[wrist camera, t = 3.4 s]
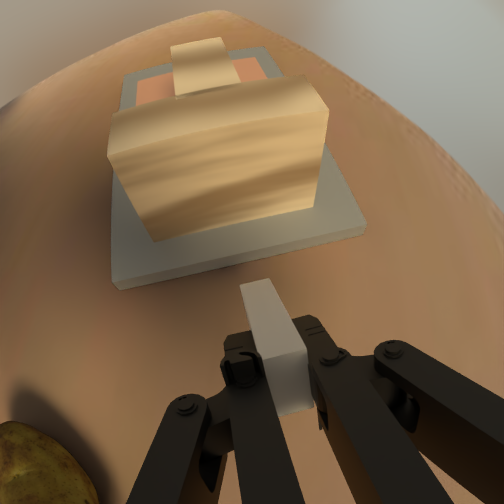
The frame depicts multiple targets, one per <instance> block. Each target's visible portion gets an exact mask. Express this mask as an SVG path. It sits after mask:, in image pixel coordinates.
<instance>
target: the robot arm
mask: <svg viewBox="0 0 504 504" xmlns="http://www.w3.org/2000/svg"><path fill="white" fill-rule="evenodd" d="M240 289H241V294H242V298H243V303H244V307H245V311H246V316H247V320H248V324H249V329H250V330H249V331H245V332H241V333H236V334H232V335H228V336H227V338H226V340H225V341H224V350H225V357H224V358H223V359H222V361H221V363H220V368H221V371H222V374H223V378H224V381H225V384H226V387H225V388H224V389H223V390H222V391H221V392H220V393H218V394H217V395H215V396H213V397H210V398H208V399H206V400H205V398H204V397H202V396H200V395H197V394H187V395H183V396H180V397H178V398H176V399H175V400H173V401H172V402H171V403H170V405H169V406H168V407H167V410H166V412H165V414H164V417H163V419H162V421H161V423H160V426H159V428H158V430H157V433H156V435H155V437H154V439H153V442H152V444H151V446H150V449H149V451H148V453H147V456H146V458H145V460H144V463H143V465H142V467H141V470H140V472H139V474H138V477H137V479H136V481H135V484H134V486H133V488H132V491H131V493H130V495H129V498H128V500H127V502H126V504H218V500H219V495H220V490H221V485H222V481H223V476H224V471H225V466H226V461H227V457H228V456H227V453H228V452H230V451H233V450H234V452H235V459H236V466H237V473H238V480H239V486H240V493H241V499H242V504H305V501H304V498H303V495H302V492H301V489H300V486H299V482H298V479H297V476H296V473H295V470H294V466H293V463H292V460H291V457H290V454H289V450H288V447H287V444H286V441H285V437H284V434H283V431H282V428H281V424H280V421H279V418H278V417H280V416H284V415H288V414H292V413H295V412H299V411H303V410H306V409H310V408H313V407H314V402H313V399H314V401H315V404H316V406H317V413H318V422H319V430H322V427H323V429H324V432H325V434H326V436H327V438H328V441H329V443H330V445H331V448H332V450H333V452H334V454H335V457H336V459H337V461H338V463H339V466H340V468H341V470H342V473H343V475H344V477H345V479H346V482H347V484H348V486H349V488H350V491H351V493H352V495H353V497H354V500H355V502H356V504H454V503H453V501H452V500H451V498H450V497H449V495H448V494H447V492H446V491H445V489H444V488H443V486H442V485H441V483H440V482H439V480H438V479H437V478H436V476H435V475H434V473H433V472H432V470H431V469H430V467H429V466H428V464H427V463H426V461H425V460H424V458H423V457H422V456H421V454H420V453H419V451H420V452H421V453H422V454H423V455H424V456H426V457H427V458H428V459H429V460H431V461H432V462H433V463H434V464H435V465H437V466H438V467H439V468H440V469H442V470H443V471H444V472H445V473H447V474H448V475H449V476H450V477H451V478H453V479H454V480H455V481H456V482H458V483H459V484H460V485H462V486H463V487H464V488H465V489H467V490H468V491H469V492H470V493H472V494H473V495H474V496H476V497H477V498H478V499H479V500H481V501H482V502H483V503H485V504H504V399H503V398H501V397H499V396H498V395H496V394H494V393H493V392H491V391H489V390H487V389H486V388H484V387H482V386H481V385H479V384H477V383H475V382H474V381H472V380H470V379H468V378H467V377H465V376H463V375H462V374H460V373H458V372H456V371H455V370H453V369H451V368H449V367H448V366H446V365H444V364H443V363H441V362H439V361H437V360H436V359H434V358H432V357H430V356H429V355H427V354H425V353H424V352H422V351H420V350H418V349H417V348H415V347H413V346H412V345H410V344H408V343H406V342H403V341H400V340H389V341H385V342H383V343H380V344H379V345H378V346H377V347H376V348H375V350H374V355H368V356H351V354H350V353H349V352H348V351H347V350H345V349H342V348H339V347H337V346H336V344H335V343H334V341H333V340H332V338H331V337H330V335H329V334H328V333H327V331H326V330H325V328H324V327H323V326H322V324H321V322H320V321H319V320H318V319H317V318H315V317H313V316H311V315H306V316H302V317H298V318H294V319H291V318H290V316H289V314H288V312H287V310H286V309H285V307H284V305H283V303H282V301H281V299H280V297H279V295H278V294H277V292H276V290H275V288H274V286H273V284H272V282H271V281H270V279H269V278H267V279H262V280H258V281H254V282H249V283H245V284H241V285H240Z"/></svg>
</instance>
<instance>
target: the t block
mask: <svg viewBox="0 0 504 504" xmlns="http://www.w3.org/2000/svg"><path fill="white" fill-rule="evenodd" d="M171 57H172V68H173V78H174V88H175V96H172V97H168V98H164V99H160V100H156V101H152V102H149V103H145V104H141V105H138V106H134V107H131V108H128V109H124V110H121V111H118V112H115V113H112V119H111V126H110V133H109V141H108V150H107V157H108V159H109V161H110V163H111V165H112V167H113V169H114V171H115V173H116V175H117V177H118V179H119V180H120V182H121V184H122V186H123V188H124V190H125V192H126V194H127V195H128V197H129V199H130V201H131V203H132V205H133V206H134V208H135V210H136V212H137V214H138V216H139V217H140V219H141V221H142V223H143V224H144V226H145V228H146V230H147V232H148V233H149V235H150V237H151V238H152V240H153V242H154V243H155V242H159V241H163V240H167V239H171V238H175V237H180V236H184V235H188V234H192V233H197V232H201V231H205V230H210V229H214V228H218V227H223V226H227V225H232V224H236V223H241V222H245V221H250V220H254V219H259V218H264V217H268V216H273V215H278V214H282V213H287V212H292V211H297V210H301V209H306V208H311V207H313V205H314V199H315V194H316V188H317V183H318V177H319V171H320V165H321V160H322V154H323V148H324V141H325V135H326V129H327V122H328V116H329V109H328V108H327V106H326V105H325V103H324V102H323V100H322V99H321V97H320V96H319V95H318V93H317V92H316V90H315V89H314V88H313V86H312V85H311V83H310V82H309V81H308V79H307V78H306V77H305V75H295V76H286V77H277V78H269V79H261V80H254V81H247V82H241V81H240V79H239V76H238V74H237V72H236V70H235V67H234V65H233V63H232V61H231V59H230V56H229V54H228V52H227V50H226V48H225V46H224V43H223V41H222V39H221V37H217V38H211V39H205V40H200V41H195V42H190V43H185V44H180V45H176V46H172V47H171Z"/></svg>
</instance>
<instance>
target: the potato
mask: <svg viewBox="0 0 504 504" xmlns="http://www.w3.org/2000/svg"><path fill="white" fill-rule="evenodd" d="M0 504H99V500H98V496H97V492H96V490H95V487H94V485H93V484H92V482H91V480H90V478H89V477H88V476H87V474H86V473H85V471H84V470H83V469H82V467H81V466H80V465H79V464H78V462H77V461H76V460H75V459H74V458H73V457H72V455H71V454H70V453H69V452H68V451H67V450H66V449H65V448H64V447H62V446H61V445H60V444H59V443H58V442H57V441H55V440H54V439H52V438H51V437H49V436H48V435H46V434H44V433H42V432H40V431H39V430H37V429H35V428H33V427H32V426H30V425H27V424H24V423H19V422H15V421H7V422H4V423H2V424H0Z"/></svg>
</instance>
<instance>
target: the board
mask: <svg viewBox="0 0 504 504" xmlns="http://www.w3.org/2000/svg"><path fill="white" fill-rule="evenodd" d="M227 52H228V54H229V56H230V59H231V61H232V63H233V65H234V67H235V70H236V72H237V74H238V76H239V79H240V81H241V82H247V81H254V80H261V79H269V78H277V77H285V76H284V75H283V73H282V72H281V70H280V69H279V67H278V66H277V64H276V63H275V61H274V60H273V59H272V57H271V56H270V54H269V53H268V51H267V50H266V48H265V47H264V46H263V47H255V48H247V49H239V50H233V51H227ZM172 96H175V88H174V78H173V68H172V62H171V63H167V64H163V65H159V66H155V67H151V68H147V69H144V70H140V71H137V72H133V73H130V74H127V75H124V81H123V87H122V93H121V100H120V108H119V111H121V110H124V109H128V108H131V107H134V106H138V105H141V104H145V103H149V102H152V101H156V100H160V99H164V98H168V97H172ZM366 226H367V223H366V220H365V218H364V216H363V214H362V212H361V210H360V208H359V206H358V204H357V202H356V200H355V198H354V196H353V194H352V192H351V190H350V188H349V186H348V184H347V182H346V181H345V179H344V177H343V175H342V173H341V171H340V169H339V167H338V165H337V164H336V162H335V160H334V158H333V156H332V154H331V153H330V151H329V149H328V147H327V145H326V144H325V142H324V148H323V154H322V160H321V165H320V171H319V177H318V183H317V188H316V194H315V199H314V205H313V207H311V208H306V209H301V210H297V211H292V212H287V213H282V214H278V215H273V216H268V217H264V218H259V219H254V220H250V221H245V222H241V223H236V224H232V225H227V226H223V227H218V228H214V229H210V230H205V231H201V232H197V233H192V234H188V235H184V236H180V237H175V238H171V239H167V240H163V241H159V242H155V243H154V242H153V240H152V238H151V237H150V235H149V233H148V232H147V230H146V228H145V226H144V224H143V223H142V221H141V219H140V217H139V216H138V214H137V212H136V210H135V208H134V206H133V205H132V203H131V201H130V199H129V197H128V195H127V194H126V192H125V190H124V188H123V186H122V184H121V182H120V180H119V179H118V177H117V175H116V173H115V171H114V169H113V184H112V207H111V272H112V283H113V284H114V285H115V286H116V287H117V288H118V289H119V290H125V289H129V288H134V287H138V286H143V285H147V284H152V283H156V282H161V281H165V280H170V279H174V278H178V277H183V276H187V275H192V274H196V273H201V272H205V271H209V270H214V269H218V268H223V267H227V266H231V265H236V264H240V263H244V262H249V261H253V260H258V259H262V258H266V257H271V256H275V255H279V254H283V253H288V252H292V251H296V250H301V249H305V248H309V247H314V246H318V245H322V244H326V243H331V242H335V241H339V240H343V239H348V238H352V237H356V236H360V235H363V233H364V231H365V229H366Z"/></svg>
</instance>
